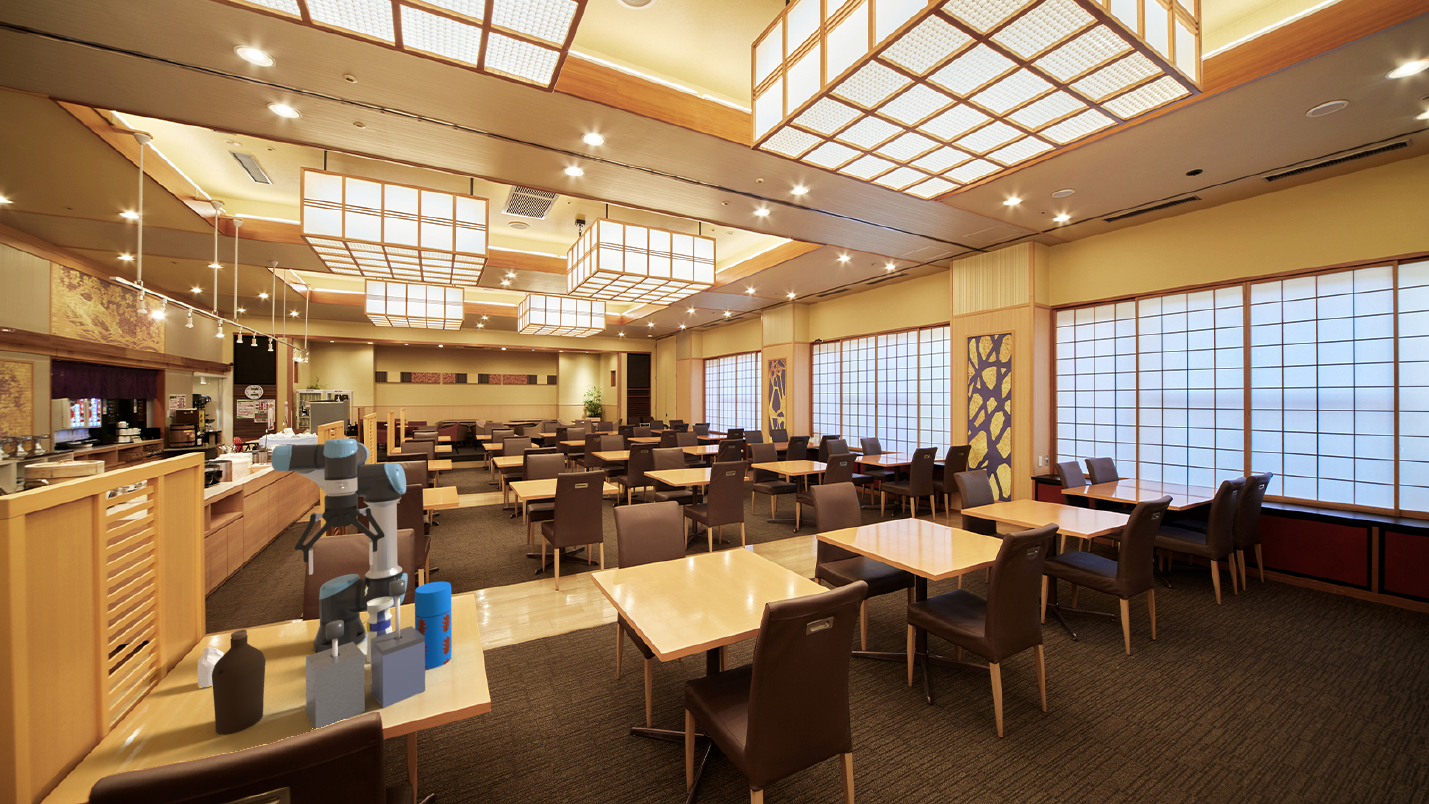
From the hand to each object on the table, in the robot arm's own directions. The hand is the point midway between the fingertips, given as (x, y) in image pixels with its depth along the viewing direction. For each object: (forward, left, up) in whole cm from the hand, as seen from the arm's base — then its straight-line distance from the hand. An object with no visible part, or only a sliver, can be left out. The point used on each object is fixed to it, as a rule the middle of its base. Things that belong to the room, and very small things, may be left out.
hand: (341, 568), depth 141 cm
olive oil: (-15, -20, -41) cm, 48 cm away
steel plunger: (0, -2, -35) cm, 35 cm away
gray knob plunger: (+2, +13, -27) cm, 30 cm away
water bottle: (-26, +16, -41) cm, 51 cm away
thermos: (-9, +27, -41) cm, 50 cm away
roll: (-48, -23, -41) cm, 67 cm away
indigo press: (0, +13, -41) cm, 43 cm away
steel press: (-2, -2, -41) cm, 41 cm away
